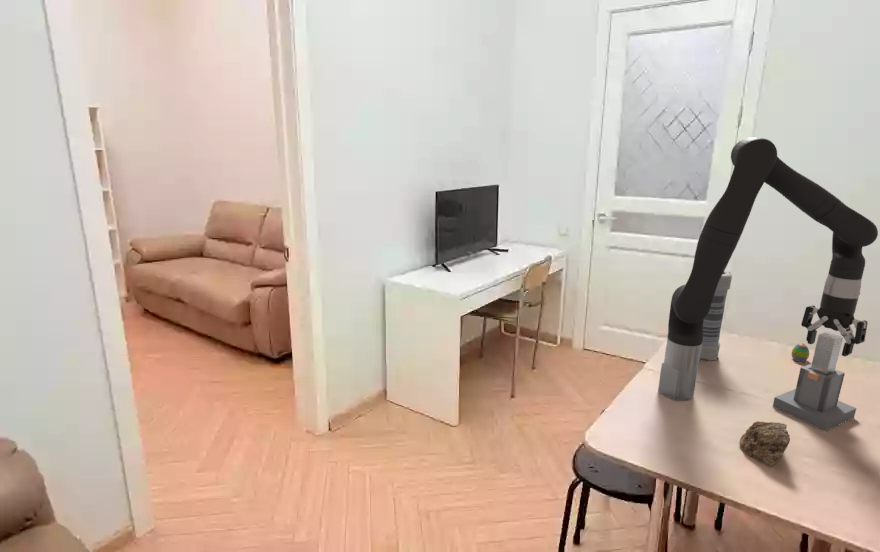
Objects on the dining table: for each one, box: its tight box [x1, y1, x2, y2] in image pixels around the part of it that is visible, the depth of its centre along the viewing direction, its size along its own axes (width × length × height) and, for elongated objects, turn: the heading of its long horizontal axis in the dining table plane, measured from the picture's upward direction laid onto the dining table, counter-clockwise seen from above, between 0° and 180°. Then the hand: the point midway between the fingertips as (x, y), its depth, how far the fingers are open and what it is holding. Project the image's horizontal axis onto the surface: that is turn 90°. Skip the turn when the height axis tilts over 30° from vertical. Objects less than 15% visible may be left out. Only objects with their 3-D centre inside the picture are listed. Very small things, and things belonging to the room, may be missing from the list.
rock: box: [739, 420, 791, 467], centre depth 131 cm, size 14×9×10 cm
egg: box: [791, 342, 810, 363], centre depth 180 cm, size 5×5×6 cm
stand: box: [772, 363, 857, 432], centre depth 147 cm, size 14×14×13 cm
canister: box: [699, 269, 733, 361], centre depth 180 cm, size 10×10×30 cm
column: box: [811, 331, 844, 376], centre depth 145 cm, size 4×4×20 cm
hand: (827, 349), depth 144 cm, fingers open, 8 cm apart
